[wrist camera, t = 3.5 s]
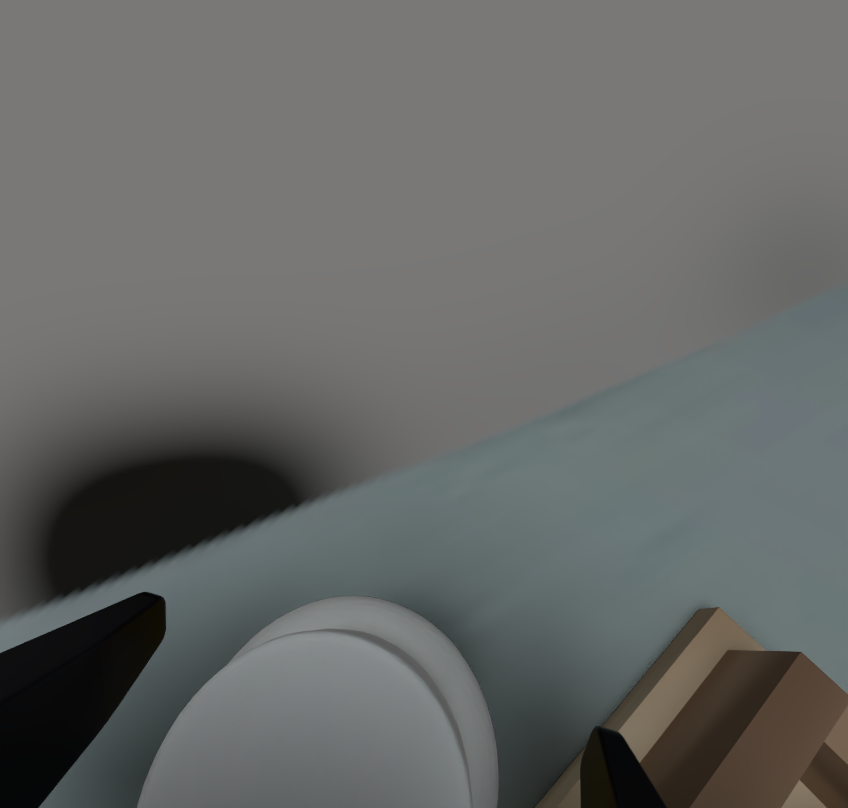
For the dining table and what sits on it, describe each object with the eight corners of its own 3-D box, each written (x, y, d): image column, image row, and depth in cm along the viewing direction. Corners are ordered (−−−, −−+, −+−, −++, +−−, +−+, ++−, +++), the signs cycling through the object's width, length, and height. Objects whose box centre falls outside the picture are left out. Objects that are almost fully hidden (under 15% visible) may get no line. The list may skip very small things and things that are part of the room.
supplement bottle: (272, 822, 13) (-51, 1187, 4) (304, 609, 15) (140, 566, 7) (470, 835, 13) (550, 1246, 4) (470, 617, 15) (520, 584, 6)
